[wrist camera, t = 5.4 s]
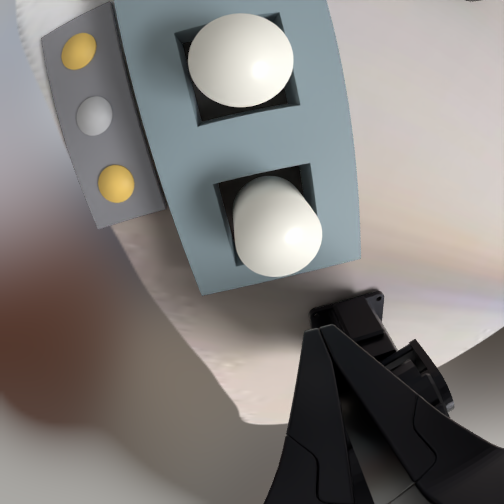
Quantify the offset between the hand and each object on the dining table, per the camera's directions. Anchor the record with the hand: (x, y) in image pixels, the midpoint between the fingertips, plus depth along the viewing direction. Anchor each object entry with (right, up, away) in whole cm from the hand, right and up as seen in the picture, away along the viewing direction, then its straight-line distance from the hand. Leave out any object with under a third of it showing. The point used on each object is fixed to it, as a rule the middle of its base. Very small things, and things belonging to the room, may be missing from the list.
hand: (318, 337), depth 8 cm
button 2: (-1, +5, +9) cm, 10 cm away
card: (-11, +11, +6) cm, 17 cm away
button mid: (-3, +11, +4) cm, 13 cm away
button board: (-3, +12, +6) cm, 14 cm away
